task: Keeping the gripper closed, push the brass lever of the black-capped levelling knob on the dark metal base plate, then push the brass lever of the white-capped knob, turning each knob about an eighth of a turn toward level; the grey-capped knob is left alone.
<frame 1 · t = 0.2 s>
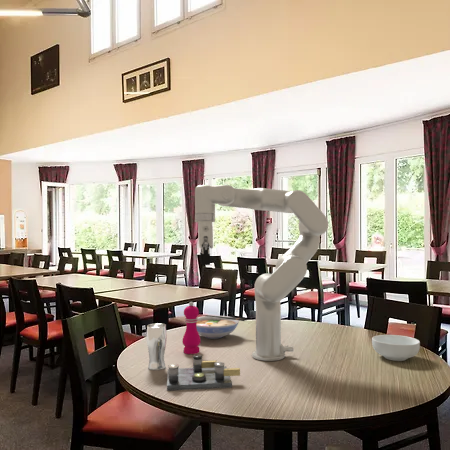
hand: (204, 263, 169), 36 cm above the table, tool pointing down, fingers open, 9 cm apart
cereal bowl: (395, 358, 170), on the table
beer glass: (156, 368, 160), on the table
grey knob: (227, 370, 144), point 4 cm above the table, hinge at 0.0°
ramen bowl: (214, 337, 203), on the table
pepper mill: (191, 352, 179), on the table
base plate: (198, 380, 147), on the table
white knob: (173, 370, 144), point 4 cm above the table, hinge at 0.0°
black knob: (204, 362, 152), point 4 cm above the table, hinge at 0.0°
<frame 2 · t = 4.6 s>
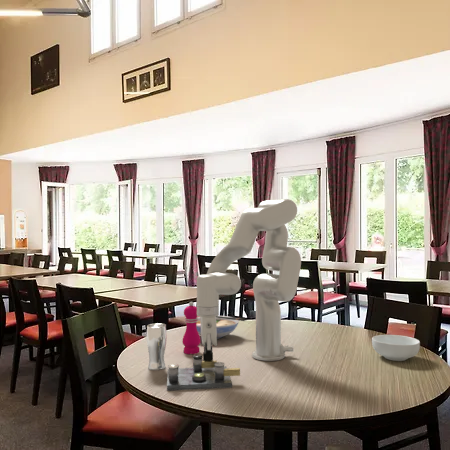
hand: (208, 364, 154), 3 cm above the table, tool pointing down, fingers closed
black knob: (204, 362, 152), point 4 cm above the table, hinge at -0.1°, touching gripper
everything else where it was.
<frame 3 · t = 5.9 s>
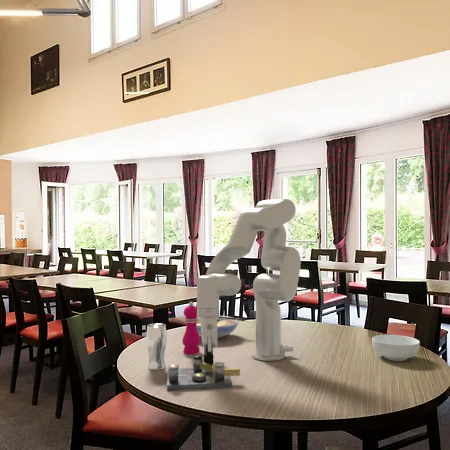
hand: (208, 365, 153), 3 cm above the table, tool pointing down, fingers closed
black knob: (203, 364, 150), point 4 cm above the table, hinge at -39.4°
everything else where it was.
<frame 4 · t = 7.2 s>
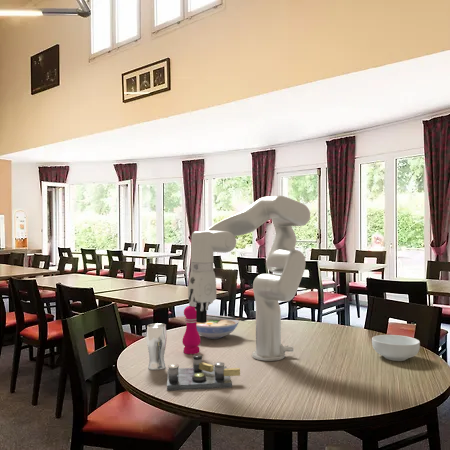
hand: (201, 322, 152), 18 cm above the table, tool pointing down, fingers closed
black knob: (202, 364, 150), point 4 cm above the table, hinge at -46.6°
everything else where it was.
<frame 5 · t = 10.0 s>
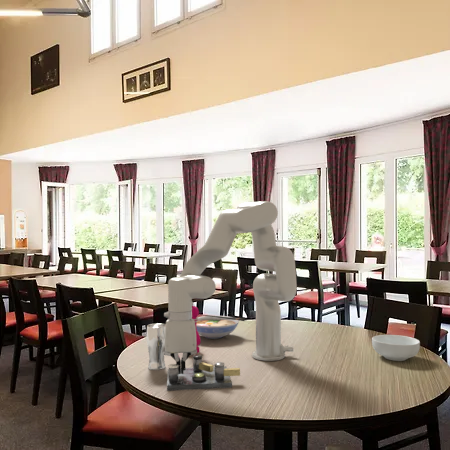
hand: (180, 372, 146), 3 cm above the table, tool pointing down, fingers closed
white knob: (173, 370, 144), point 4 cm above the table, hinge at 0.2°, touching gripper
black knob: (202, 364, 150), point 4 cm above the table, hinge at -47.7°
everything else where it was.
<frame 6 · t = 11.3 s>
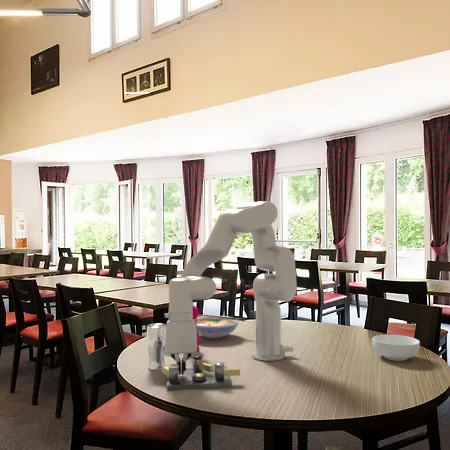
hand: (181, 373, 146), 3 cm above the table, tool pointing down, fingers closed
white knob: (169, 370, 144), point 4 cm above the table, hinge at 29.2°
everything else where it was.
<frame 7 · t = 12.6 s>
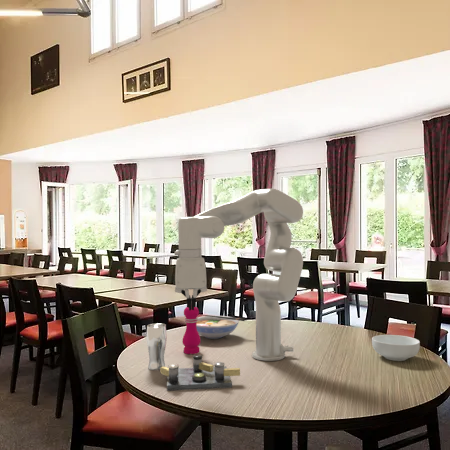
hand: (191, 309, 150), 23 cm above the table, tool pointing down, fingers closed
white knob: (169, 370, 144), point 4 cm above the table, hinge at 34.3°
everything else where it was.
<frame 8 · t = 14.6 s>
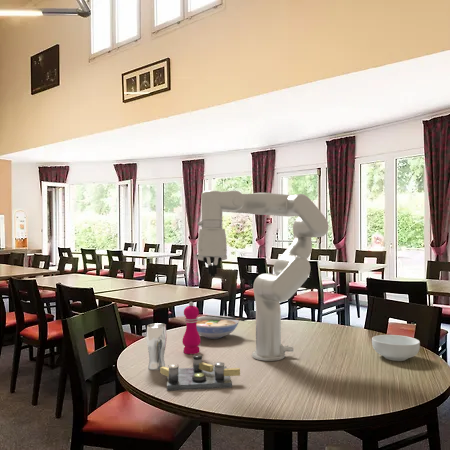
hand: (212, 276, 162), 32 cm above the table, tool pointing down, fingers closed
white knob: (169, 370, 144), point 4 cm above the table, hinge at 35.0°
everything else where it was.
at the end: black knob at -48° (first picture: +0°); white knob at +35° (first picture: +0°); grey knob at +0° (first picture: +0°) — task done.
